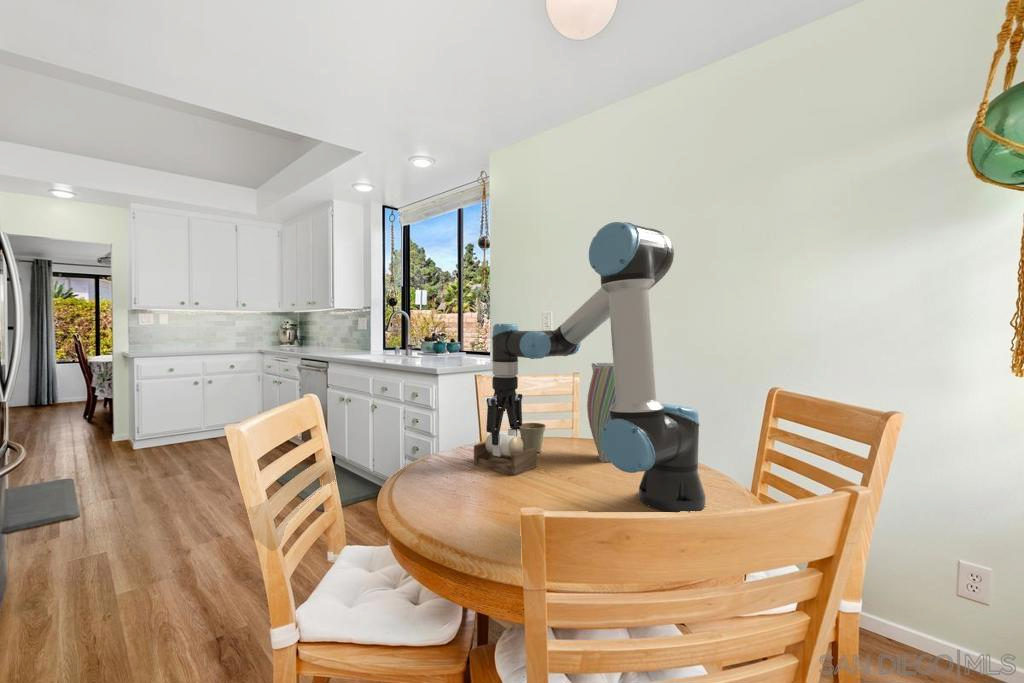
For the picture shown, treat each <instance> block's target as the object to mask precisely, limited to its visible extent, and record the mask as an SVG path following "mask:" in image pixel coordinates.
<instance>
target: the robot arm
mask: <svg viewBox="0 0 1024 683" xmlns="http://www.w3.org/2000/svg"><path fill="white" fill-rule="evenodd" d="M588 250H589V251H588V262H589V264H590V266H591V268H592V269H593V270H594V272H595V273H596V274H598V275H599V276H600V286H601V287H600V288H599V289H597V291H596V292H594V294H592V295H591V297H589V299H587V300H586V301H585V302H584V303H583V304H582V305H580V307H579V308H578V309H577V310H576V311H575V312H573V313H572V314H571V315H570V316H569V317H568V318H567V319H566V320H565V321H564V322H563V323H562V324H561V325H559V326H558V327H557V328H556V329H554V330H519V326H518V324H516V323H495V324H494V325H493V326H492V336H491V339H492V343H491V345H492V375H493V377H492V378H491V379H492V383H491V384H492V386H491V387H492V389H493V391H494V392H493V396H492V397H489V398H488V397H487V398H486V405H487V410H486V411H487V412H486V428H485V429H486V430H485V431H486V432H487V433H489V434H492V445H493V455H495V456H499V457H500V456H501V434H502V433H501V432H500V431H501V428H502V427H501V426H502V421H503V417H504V412H506V415H507V419H508V420H507V421H508V424H509V428H508V429H507V435H510V436H517V437H518V431H519V430H520V427H519V426H522V423H523V410H522V409H523V407H522V405H523V404H522V399H523V394H522V393H517V392H516V390H517V389H518V387H519V386H518V382H519V381H518V379H519V378H518V376H517V375H518V374H519V358H525V359H530V360H534V359H535V360H538V359H543V358H547V357H548V358H549V357H568V356H570V355H571V356H572V355H575V354H577V353H578V351H579V349H580V347H581V343H582V341H584V340H585V339H586V338H587V337H588V336H589V335H591V334H592V333H593V332H594V331H595V330H596V329H597V328H599V327H600V326H601V325H603V323H605V322H606V321H608V319H610V320H609V323H610V334H611V336H610V337H611V347H612V348H611V349H612V350H611V351H612V360H613V361H612V363H613V365H614V379H615V394H616V401H615V403H614V404H613V405H612V406H611V407H610V422H608V423H607V424H606V425H605V428H603V430H602V433H601V444H602V448H603V451H604V453H605V455H606V457H607V458H608V460H610V461H611V462H610V463H611V464H612V465H613V466H614V467H615V468H616V469H618V470H619V471H622V472H625V473H629V474H631V473H632V474H634V473H635V474H636V473H639V472H641V473H642V472H644V473H643V475H642V478H641V480H640V484H639V486H638V499H639V501H640V502H641V503H643V504H644V505H646V506H648V505H649V506H648V507H650V508H653V509H655V508H656V510H659V511H663V512H669V513H670V512H671V513H678V512H680V511H695V512H698V511H697V510H699V511H701V510H703V509H704V508H705V507H704V505H705V506H706V493H705V490H704V487H703V484H702V481H701V477H700V474H699V434H700V433H699V431H700V430H699V428H700V422H699V412H698V411H697V410H696V409H695V408H693V407H688V406H684V405H683V406H682V405H676V404H667V403H660V402H659V401H658V400H657V396H656V395H657V394H656V392H657V391H656V381H655V380H656V378H655V367H654V354H653V353H654V352H653V338H652V325H651V313H650V312H651V310H650V308H651V307H650V298H649V296H650V295H649V291H650V289H651V288H653V287H654V286H655V285H657V283H659V282H660V281H661V280H662V279H663V278H664V277H665V276H666V274H667V273H668V272H669V270H670V269H671V267H672V264H673V262H674V257H675V253H674V252H675V250H674V246H673V243H672V241H671V240H670V238H669V236H667V235H666V234H665V233H663V231H661V230H659V229H656V228H655V229H654V228H649V227H645V226H641V225H636V224H634V223H631V222H623V221H622V222H621V221H613V222H610V223H607V224H605V225H604V226H602V227H601V228H600V229H598V231H597V232H596V235H595V236H593V237H592V240H591V242H590V244H589V248H588Z"/></svg>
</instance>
